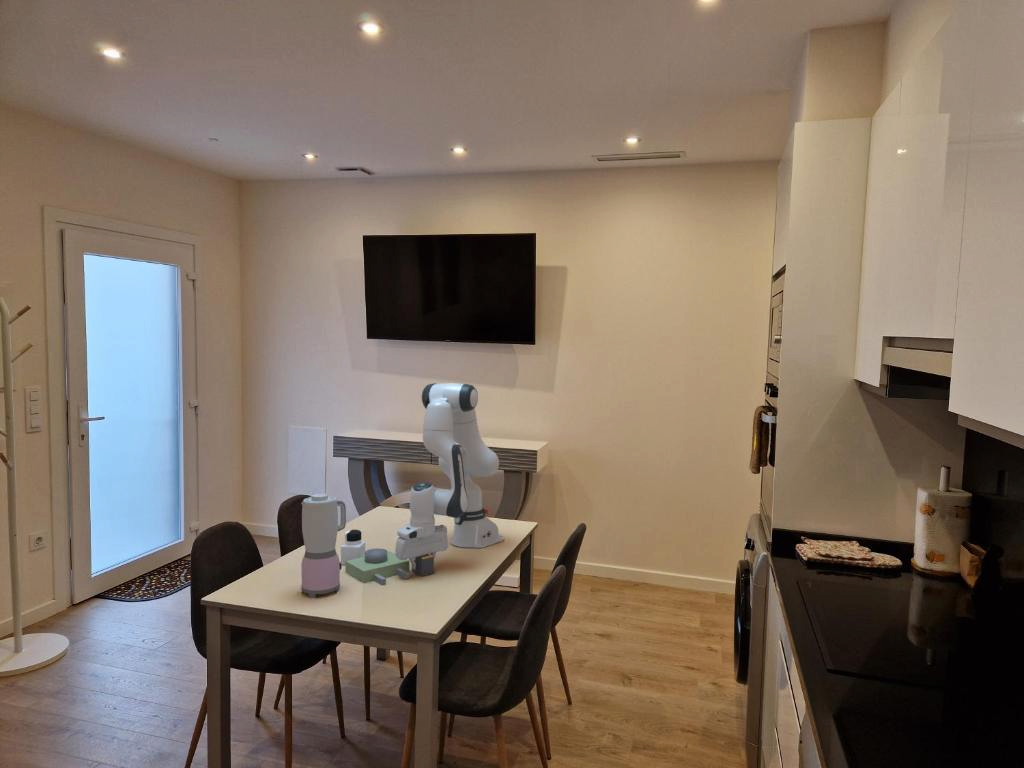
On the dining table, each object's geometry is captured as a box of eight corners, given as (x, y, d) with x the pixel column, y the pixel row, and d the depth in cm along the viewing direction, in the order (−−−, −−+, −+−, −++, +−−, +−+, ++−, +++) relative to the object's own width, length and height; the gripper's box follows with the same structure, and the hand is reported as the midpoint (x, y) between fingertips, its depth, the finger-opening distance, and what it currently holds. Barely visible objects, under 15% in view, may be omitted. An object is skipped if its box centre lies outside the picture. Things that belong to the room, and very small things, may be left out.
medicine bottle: (365, 559, 254) (365, 528, 253) (359, 565, 247) (359, 533, 246) (347, 559, 255) (347, 527, 254) (340, 565, 248) (340, 533, 247)
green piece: (390, 561, 252) (389, 543, 251) (418, 576, 236) (418, 556, 236) (345, 571, 240) (345, 552, 240) (372, 587, 225) (371, 567, 224)
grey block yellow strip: (423, 568, 244) (423, 550, 244) (434, 573, 239) (433, 555, 238) (411, 571, 241) (411, 553, 241) (422, 576, 236) (421, 557, 235)
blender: (312, 601, 213) (310, 501, 211) (294, 590, 222) (292, 495, 220) (355, 588, 224) (354, 494, 222) (337, 579, 233) (336, 488, 231)
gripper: (442, 521, 248) (442, 558, 249) (393, 531, 235) (393, 570, 236) (451, 525, 243) (451, 562, 244) (402, 535, 230) (402, 575, 231)
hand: (422, 566), depth 240 cm, fingers closed on grey block yellow strip, 5 cm apart
